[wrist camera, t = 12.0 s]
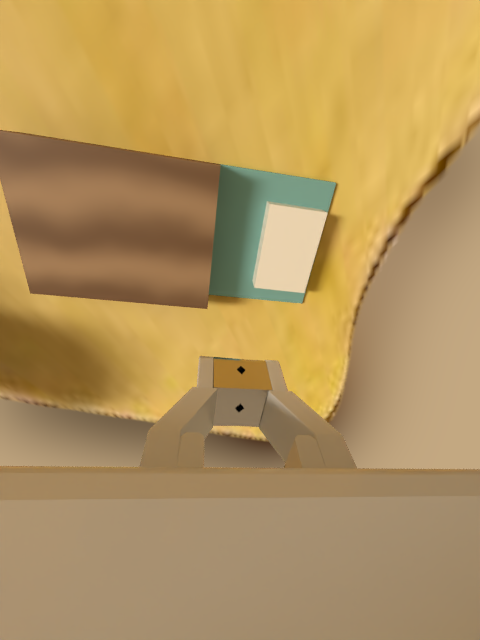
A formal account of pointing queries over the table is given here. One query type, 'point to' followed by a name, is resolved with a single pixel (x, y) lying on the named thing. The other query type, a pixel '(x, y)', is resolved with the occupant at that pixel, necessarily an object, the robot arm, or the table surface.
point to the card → (287, 246)
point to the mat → (254, 226)
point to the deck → (110, 220)
